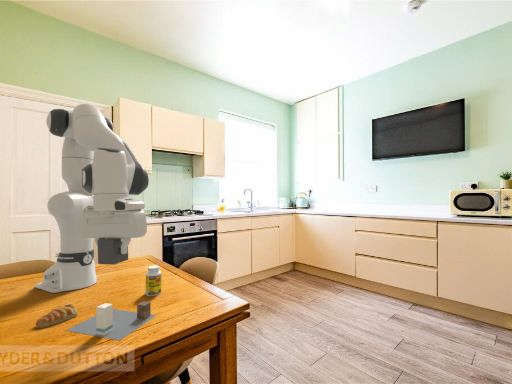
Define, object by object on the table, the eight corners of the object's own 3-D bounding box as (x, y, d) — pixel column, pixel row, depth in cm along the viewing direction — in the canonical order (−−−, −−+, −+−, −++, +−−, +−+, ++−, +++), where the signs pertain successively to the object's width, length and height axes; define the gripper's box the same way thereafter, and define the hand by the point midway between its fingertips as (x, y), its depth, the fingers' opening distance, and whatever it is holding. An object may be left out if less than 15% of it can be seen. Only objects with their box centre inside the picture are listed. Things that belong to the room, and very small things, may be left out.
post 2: (137, 318, 73) (137, 304, 73) (143, 314, 76) (143, 301, 76) (144, 319, 73) (144, 305, 73) (150, 315, 75) (150, 302, 75)
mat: (65, 331, 67) (65, 330, 67) (109, 309, 80) (109, 308, 80) (119, 342, 62) (119, 340, 62) (156, 316, 75) (156, 315, 75)
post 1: (96, 334, 65) (96, 307, 65) (104, 329, 67) (105, 303, 68) (104, 335, 64) (104, 308, 64) (112, 330, 67) (112, 304, 67)
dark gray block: (98, 264, 68) (97, 240, 68) (113, 259, 73) (112, 236, 73) (113, 264, 67) (112, 240, 67) (128, 259, 72) (127, 236, 72)
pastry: (45, 332, 67) (45, 318, 67) (29, 328, 69) (29, 314, 69) (79, 316, 76) (80, 304, 76) (64, 313, 78) (64, 301, 78)
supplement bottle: (146, 298, 89) (147, 269, 90) (144, 293, 94) (144, 266, 94) (162, 294, 93) (163, 267, 93) (159, 290, 97) (159, 264, 97)
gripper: (72, 206, 70) (73, 255, 69) (133, 203, 65) (135, 256, 64) (92, 205, 76) (93, 250, 76) (149, 202, 71) (151, 251, 70)
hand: (113, 253), depth 70 cm, fingers closed on dark gray block, 5 cm apart
